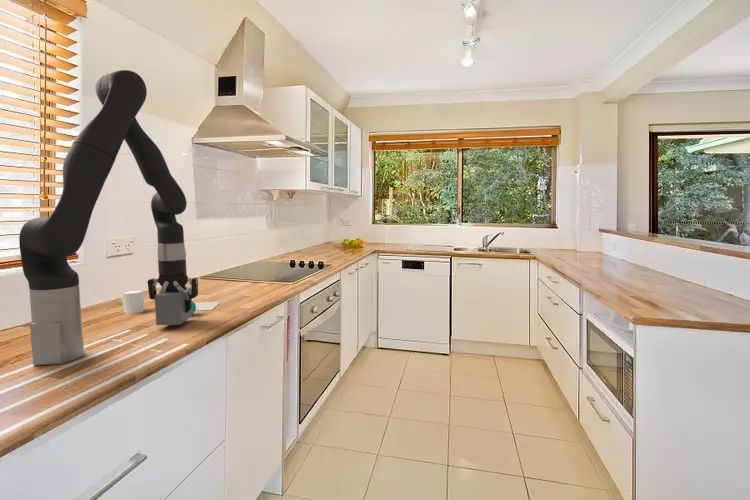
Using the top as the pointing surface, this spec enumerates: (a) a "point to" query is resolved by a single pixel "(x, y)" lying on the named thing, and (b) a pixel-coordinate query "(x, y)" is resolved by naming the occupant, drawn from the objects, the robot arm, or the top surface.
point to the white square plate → (206, 305)
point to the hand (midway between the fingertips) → (174, 312)
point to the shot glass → (133, 301)
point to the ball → (193, 307)
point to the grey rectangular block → (171, 308)
